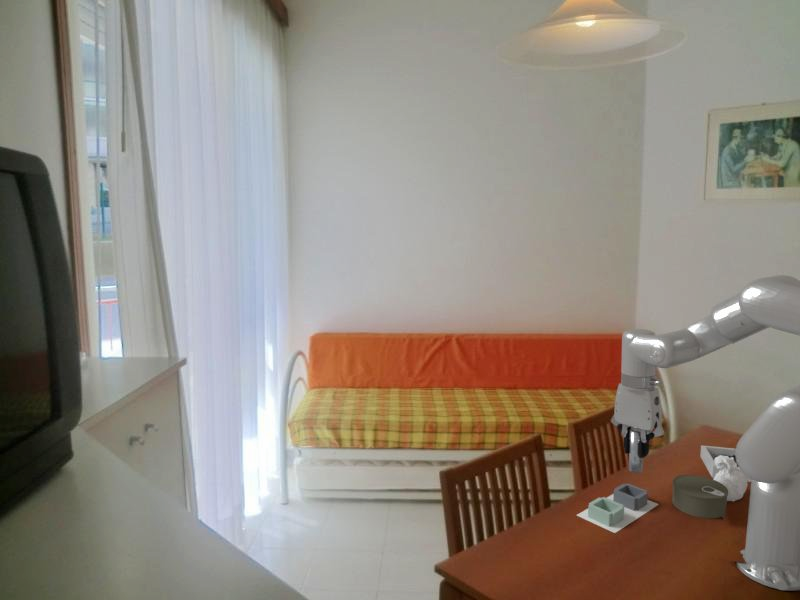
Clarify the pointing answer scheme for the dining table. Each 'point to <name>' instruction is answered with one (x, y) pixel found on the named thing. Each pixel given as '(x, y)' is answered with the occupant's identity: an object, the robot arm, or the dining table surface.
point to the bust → (730, 477)
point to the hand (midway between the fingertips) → (635, 453)
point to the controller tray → (711, 452)
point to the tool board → (618, 508)
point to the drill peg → (635, 451)
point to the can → (700, 496)
